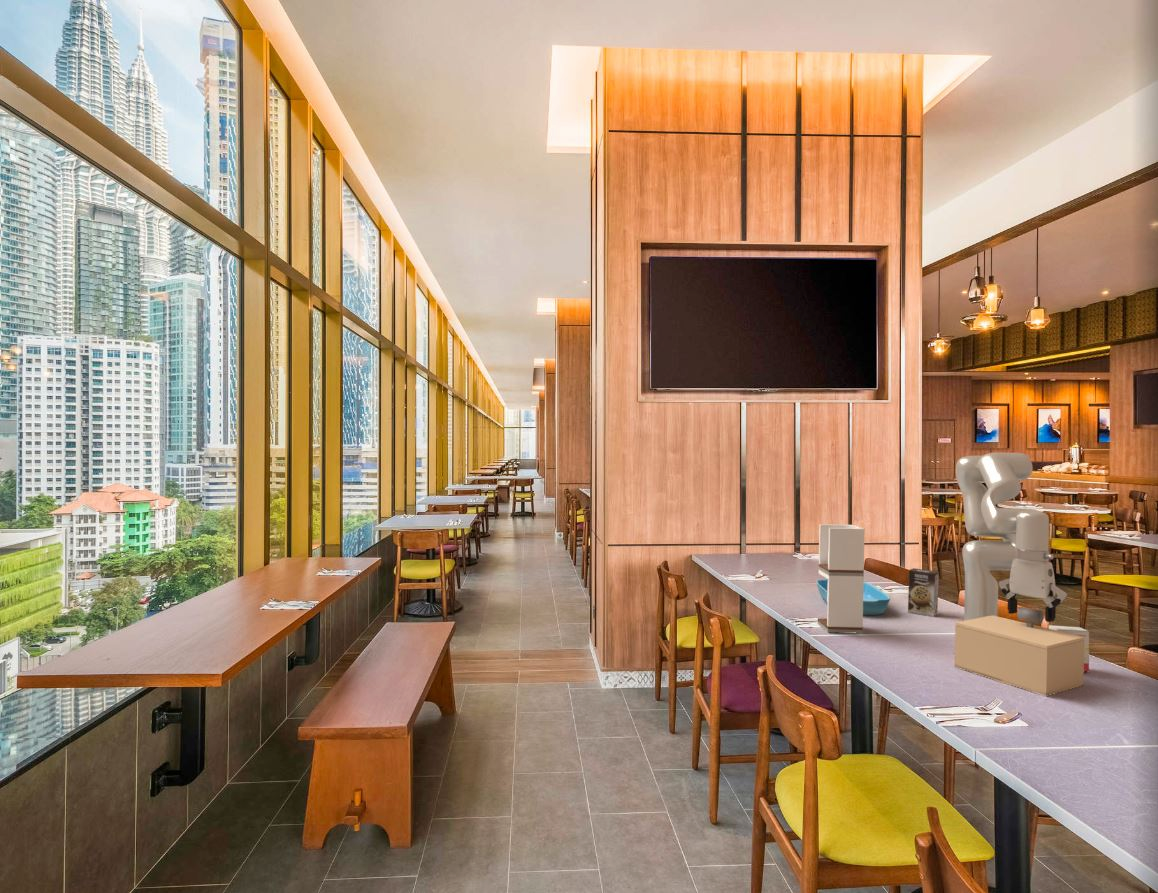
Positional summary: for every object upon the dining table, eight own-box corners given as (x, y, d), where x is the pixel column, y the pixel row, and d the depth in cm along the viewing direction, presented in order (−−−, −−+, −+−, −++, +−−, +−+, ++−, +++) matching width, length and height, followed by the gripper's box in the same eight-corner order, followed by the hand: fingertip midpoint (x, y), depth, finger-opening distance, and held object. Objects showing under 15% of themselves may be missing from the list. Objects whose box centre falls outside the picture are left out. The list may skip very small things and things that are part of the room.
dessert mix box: (907, 612, 252) (908, 569, 251) (912, 609, 256) (912, 567, 256) (933, 617, 246) (934, 573, 245) (938, 613, 250) (939, 570, 250)
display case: (850, 624, 234) (852, 524, 233) (862, 633, 223) (864, 528, 223) (817, 624, 234) (819, 524, 234) (827, 632, 223) (829, 528, 223)
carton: (991, 658, 199) (992, 618, 199) (1083, 685, 178) (1084, 640, 178) (954, 667, 191) (955, 625, 190) (1045, 696, 169) (1047, 649, 169)
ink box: (1079, 667, 193) (1080, 626, 192) (1089, 673, 188) (1090, 631, 188) (1046, 664, 194) (1047, 624, 194) (1055, 670, 189) (1056, 629, 189)
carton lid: (992, 618, 199) (993, 598, 199) (1084, 640, 178) (1084, 618, 178) (955, 625, 190) (955, 604, 190) (1047, 649, 169) (1047, 626, 169)
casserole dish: (898, 619, 242) (898, 600, 242) (834, 617, 244) (835, 597, 244) (865, 596, 279) (865, 579, 279) (810, 594, 281) (810, 577, 281)
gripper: (1073, 559, 181) (1072, 623, 181) (1007, 550, 196) (1006, 609, 196) (1058, 561, 177) (1057, 626, 177) (992, 552, 192) (991, 611, 192)
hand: (1030, 617), depth 186 cm, fingers open, 9 cm apart
